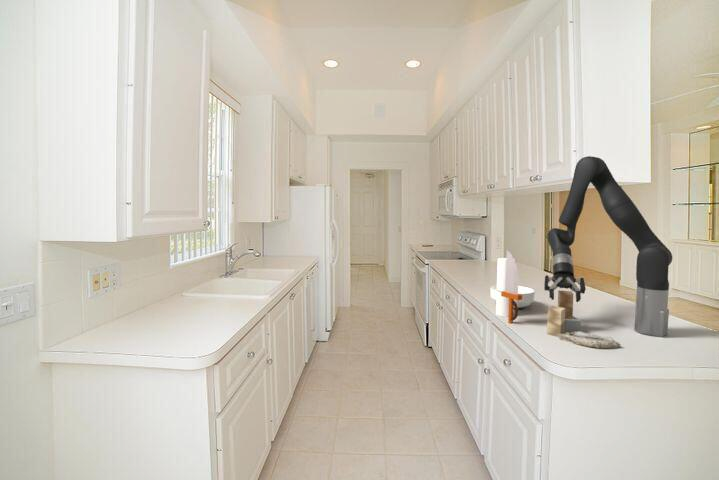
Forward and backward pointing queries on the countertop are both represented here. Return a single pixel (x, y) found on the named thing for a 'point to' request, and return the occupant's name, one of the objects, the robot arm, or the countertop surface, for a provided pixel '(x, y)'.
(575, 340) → the fossil
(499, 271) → the cylindrical container
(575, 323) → the base block
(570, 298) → the walnut block
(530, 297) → the bowl
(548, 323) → the oak block
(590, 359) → the countertop surface
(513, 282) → the knife
